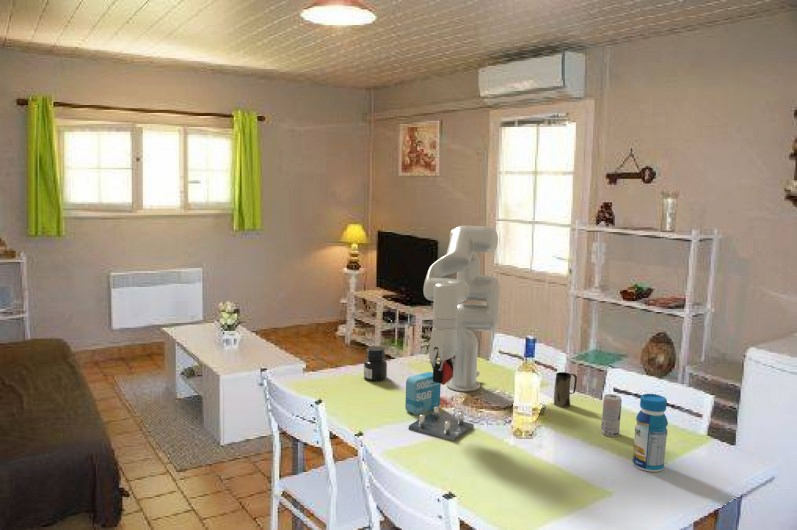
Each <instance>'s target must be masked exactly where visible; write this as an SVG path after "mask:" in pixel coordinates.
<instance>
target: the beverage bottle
mask: <svg viewBox="0 0 797 530" xmlns="http://www.w3.org/2000/svg"><path fill="white" fill-rule="evenodd" d="M667 400H668V399H667V398H666V397H665V396H663V395H660V394H656V393H643V394H642V395H641V396H640V399H639V401H640V402H639V404H640V405H639V406H640V411H639V412H638V413H637V415H636V417H635V421H636V424H635V425H634V441H633V443H634V445H633V457H632V463H633V466H634V467H635V468H637V469H638V470H642V471H645V472H649V473H650V472H651V473H658V472H661V471H663V470H664V468H665V460H666V459H665V458H666V456H665V455H666V447H667V437H668V434H669V433H668V428H667V426H668V424H669V422H668V418H667V416H666V414H665V412H666V410H667V406H668V405H667V404H668V402H667Z"/></svg>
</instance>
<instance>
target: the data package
mask: <svg viewBox="0 0 797 530" xmlns="http://www.w3.org/2000/svg"><path fill="white" fill-rule="evenodd" d="M441 386H442V384H441V383H437V382H433V371H432V372H431V371H428V372H427V371H426V372H424V373H418V374H415V375H410V376H408V377H407V379H406V381H405V404H404V405H405V406H404V407H405V411H407V412H409V413H410V414H413V415H421V414H424V413H428V412H430V411H434V406H438V407H439V408H440V405H441Z"/></svg>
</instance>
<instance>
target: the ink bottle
mask: <svg viewBox="0 0 797 530" xmlns="http://www.w3.org/2000/svg"><path fill="white" fill-rule="evenodd" d="M385 349H386V348H385V347H383V346H378V345H376V346H375V345H374V346H373V345H372V346H368V347H366V359H365V361H364V362H363V379H364V380H365V381H369V382H383V381H385V380H386V379H387V375H388V374H387V373H388V371H387V370H388V369H387V368H388V363H387V361H386V360H385V353H386V351H385Z"/></svg>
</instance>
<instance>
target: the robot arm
mask: <svg viewBox="0 0 797 530" xmlns="http://www.w3.org/2000/svg"><path fill="white" fill-rule="evenodd" d="M498 244H499V236H498V232H497V231H496V229H494V228H491V227H489V226H485V225H459V226H457V227H455V228H453V229H451V231H450V232H449V242H448V247H447V251H446V253H445V255H444V256H443V255H442V256H441V257H440V258H438V259H437V260H436V261H434V263H432V264H431V265H430V266H429V268H428V270H427V273H426V277H425V279H424V283H423V289H422V290H423V296H424V298H425V299H426V300H428V301H431V302H433V306H432V307H433V308H432V310H433V311H432V329H431V334H430V341H429V350H428V359H429V363H430V364H431V365H430V366H431V367H432V373H433V382H437V383H443V370H442V367H443V362H444V361H445V360H446V363H447V364H449V365H450V367H451V368H452V371H453V376H452V378H451V380H450V381H448V382H447V383H446V387H447V388H449V389H450V390H453V391H457V392H475V391H477V390H479V389H480V388H481V383H480V382H479V381H477V377H479V376H480V371H478V351H479V350H478V349H479V348H478V346H479V343H478V339H477V336H476V335H475V333H474V332H473V331H481V332H494V331H495V330H496V329H497V328H498V325H499V316H500V315H499V314H500V313H499V311H500V297H501V296H500V294H501V293H500V292H501V291H500V289H501V287H500V286H501V285H500V282H499V280H498V278H497V277H495V276H493V275H482V274H481V260H480V257H479V256H478V254H477V253H487V254H488V253H490V254H491V253H494V252H495V251H496V249H497V247H498ZM452 274H456V278H449V277H448V278H447V277H445V276H448V275H452ZM465 301H472V302H473V301H477V302H484V303H486V304H476V303H463V302H465ZM439 363H440V365H439Z"/></svg>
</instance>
